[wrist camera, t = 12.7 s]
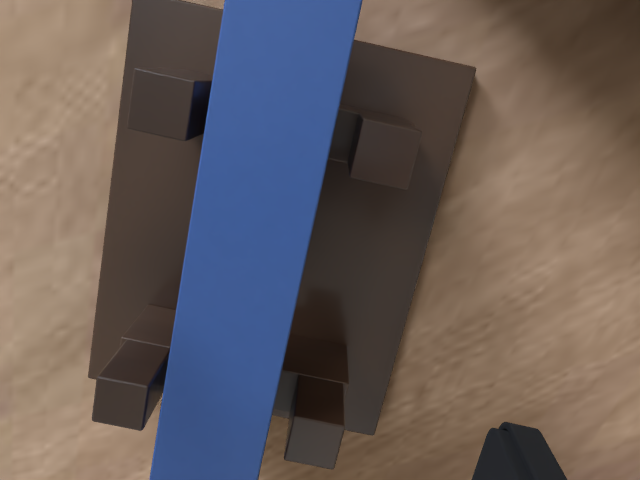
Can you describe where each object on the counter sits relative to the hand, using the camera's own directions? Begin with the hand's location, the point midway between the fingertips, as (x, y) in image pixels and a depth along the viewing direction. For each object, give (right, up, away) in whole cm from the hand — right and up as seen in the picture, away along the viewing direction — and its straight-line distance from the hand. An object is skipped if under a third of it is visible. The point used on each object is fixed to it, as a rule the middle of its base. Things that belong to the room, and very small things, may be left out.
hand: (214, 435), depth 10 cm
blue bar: (0, +3, +9) cm, 9 cm away
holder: (0, +4, +13) cm, 13 cm away
